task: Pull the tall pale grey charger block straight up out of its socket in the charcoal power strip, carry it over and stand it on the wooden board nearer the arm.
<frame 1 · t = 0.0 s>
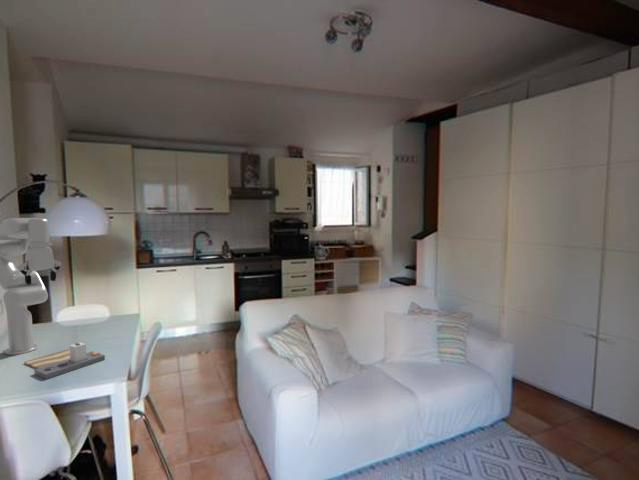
hand: (41, 282, 169), 37 cm above the table, tool pointing down, fingers open, 9 cm apart
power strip: (71, 366, 164), on the table
charger: (78, 364, 166), resting in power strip
wooden board: (54, 359, 171), on the table
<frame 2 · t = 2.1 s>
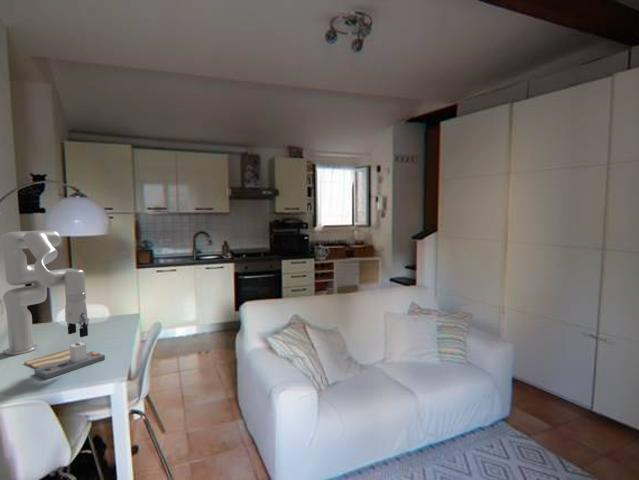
hand: (78, 334, 165), 14 cm above the table, tool pointing down, fingers open, 9 cm apart
nothing on the table moved.
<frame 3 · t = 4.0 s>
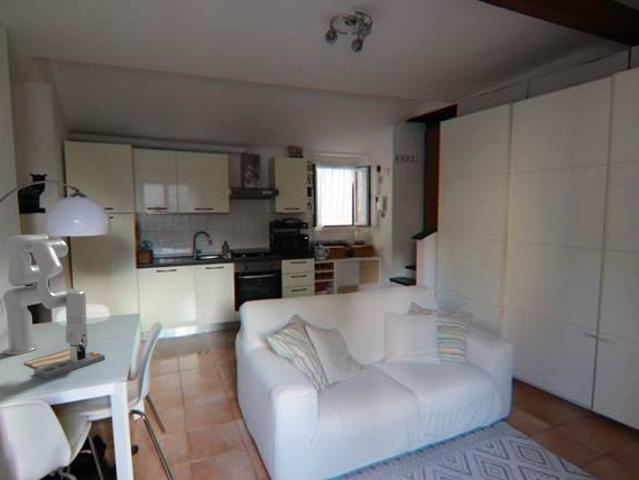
hand: (78, 357, 166), 3 cm above the table, tool pointing down, fingers closed on charger, 4 cm apart
charger: (78, 364, 166), resting in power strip, touching gripper
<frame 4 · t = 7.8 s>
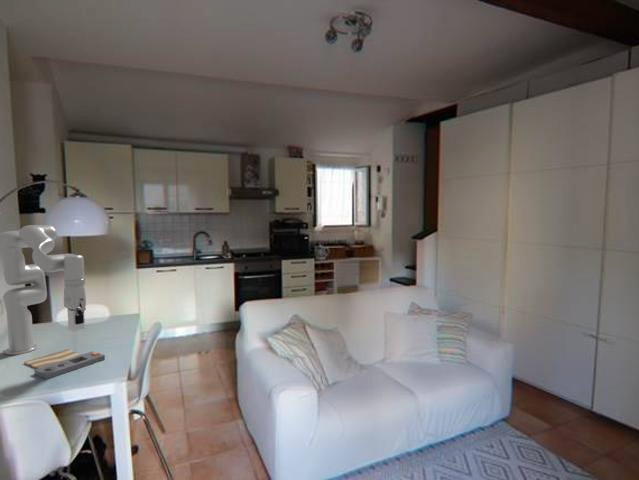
hand: (76, 322, 165), 19 cm above the table, tool pointing down, fingers closed on charger, 4 cm apart
charger: (76, 328, 165), point 16 cm above the table, touching gripper
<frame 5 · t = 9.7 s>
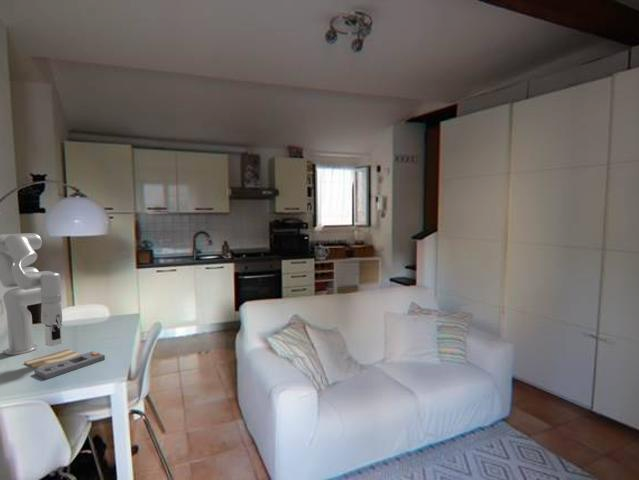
hand: (53, 337, 171), 10 cm above the table, tool pointing down, fingers closed on charger, 4 cm apart
charger: (53, 344, 171), point 7 cm above the table, touching gripper
when the fingers open (5 cm above the table, at t = 11.4 s): charger stays where it is, resting on wooden board.
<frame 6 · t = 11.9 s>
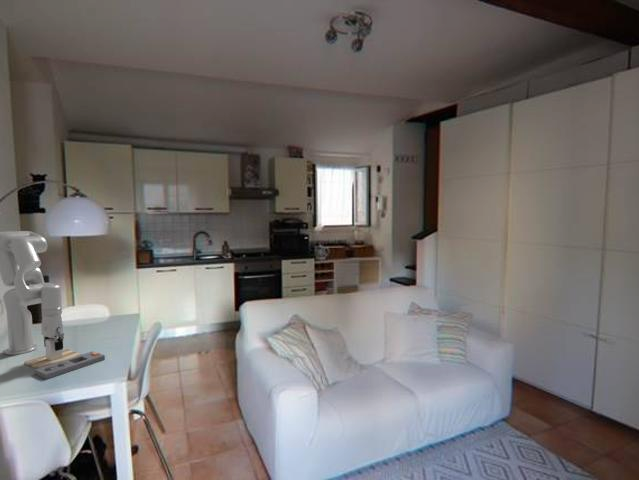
hand: (53, 347, 171), 6 cm above the table, tool pointing down, fingers open, 9 cm apart
charger: (54, 358, 171), point 1 cm above the table, touching wooden board
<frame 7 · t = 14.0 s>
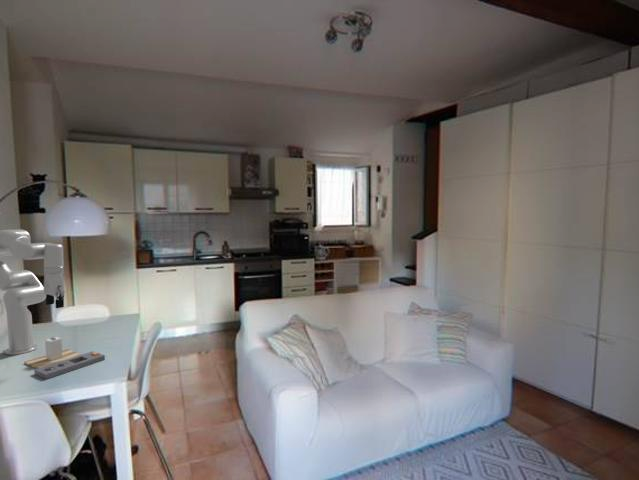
hand: (54, 305, 174), 24 cm above the table, tool pointing down, fingers open, 9 cm apart
nothing on the table moved.
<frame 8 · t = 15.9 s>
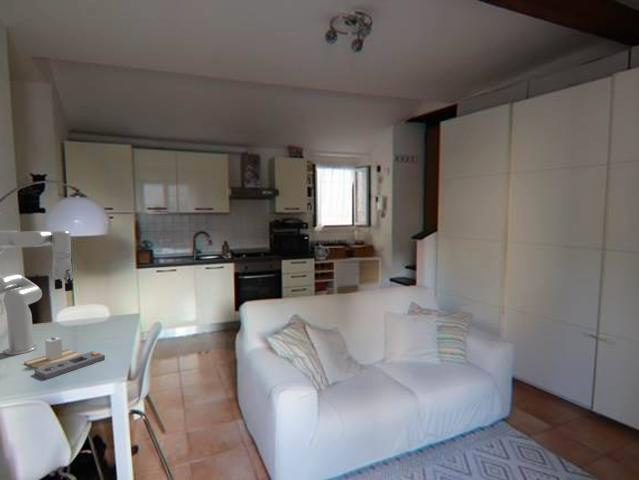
hand: (63, 289, 183), 30 cm above the table, tool pointing down, fingers open, 9 cm apart
nothing on the table moved.
at the end: charger inside the target area on the wooden board (0.0 cm from its centre), point 0.8 cm above the wooden board's base; charger tilted 0°; the gripper is holding nothing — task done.
